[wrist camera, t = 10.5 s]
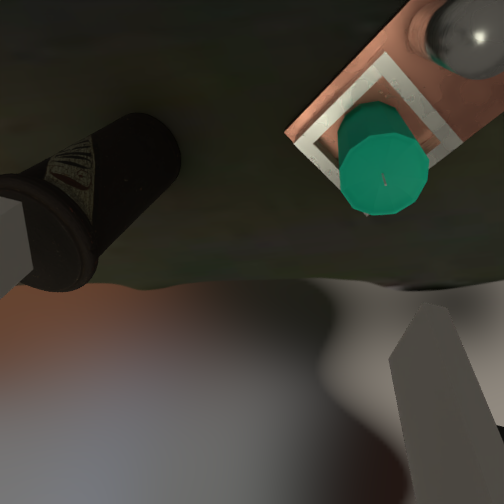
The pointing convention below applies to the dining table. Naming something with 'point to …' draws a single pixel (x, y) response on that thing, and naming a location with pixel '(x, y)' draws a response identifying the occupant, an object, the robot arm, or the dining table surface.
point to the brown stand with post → (416, 79)
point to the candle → (379, 160)
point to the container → (90, 197)
